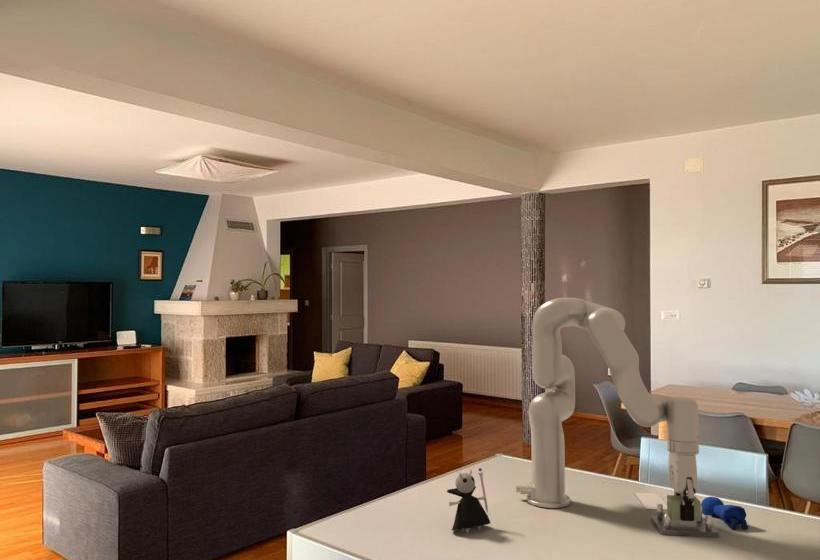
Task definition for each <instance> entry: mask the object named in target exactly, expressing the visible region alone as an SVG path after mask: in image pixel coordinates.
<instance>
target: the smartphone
mask: <svg viewBox="0 0 820 560" xmlns="http://www.w3.org/2000/svg"><path fill="white" fill-rule="evenodd" d="M633 494H634V495H635V496H636V498H637V500H638V501H639V502H640V504H641V505H642V506H643V508H644V509H645V510H647V511H657V504H662V505H663V511H666V512H667V502H665V501H664V499H663V497H661V496H660V494H658V493H656V492H633Z"/></svg>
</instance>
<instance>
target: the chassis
mask: <svg viewBox="0 0 820 560" xmlns="http://www.w3.org/2000/svg"><path fill="white" fill-rule="evenodd" d="M656 511H657V512H656V515H650V521H651V523H652V524H653V525H654V527H655V529H656V530H657V532H658V533H659V534H660V536H661V535H665V536H683V537H685V536H686V537H704V538H705V537H706V538H708V537H709V538H719V537H720V532H719V530H717V528H716V527H715V526H714V525H713V523H712V521H713V520H712V516H710V515H704V516H705V517H703V514H702V506H701V521H677V520H671V518H670V514H668V513H667V512H665V513H664V510H663V505H662V504H657V510H656Z"/></svg>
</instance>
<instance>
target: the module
mask: <svg viewBox="0 0 820 560" xmlns="http://www.w3.org/2000/svg"><path fill="white" fill-rule="evenodd" d="M685 497H687V495H684V499H685ZM701 503H702V501H700V500H699V498H697V496H695V499H694V521H701ZM666 504H667V511H666V513H668V514H670V518H671V520H677V521H682V520H681V519H680V504H682V503H681V496H679V495H674V494H673V495H672V494H667V495H666Z"/></svg>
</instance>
